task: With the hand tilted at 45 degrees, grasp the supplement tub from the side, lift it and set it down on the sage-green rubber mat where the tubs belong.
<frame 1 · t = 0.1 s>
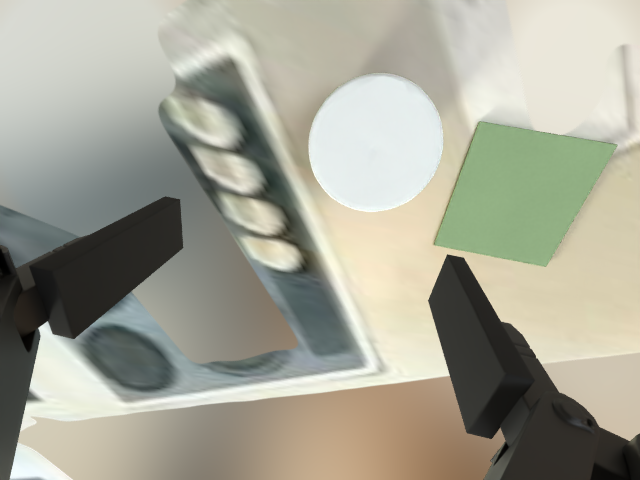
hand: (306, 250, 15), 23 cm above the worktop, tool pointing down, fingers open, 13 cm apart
supplement tub: (371, 128, 34), on the worktop
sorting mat: (514, 199, 35), on the worktop
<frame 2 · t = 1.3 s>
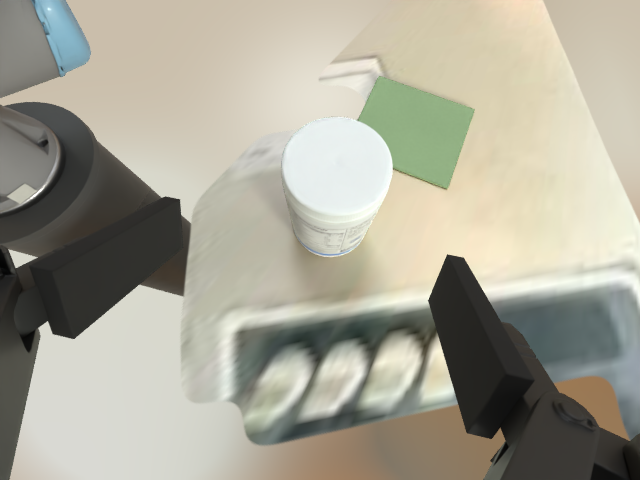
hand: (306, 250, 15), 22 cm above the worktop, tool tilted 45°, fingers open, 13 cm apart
supplement tub: (329, 224, 38), on the worktop
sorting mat: (410, 129, 43), on the worktop
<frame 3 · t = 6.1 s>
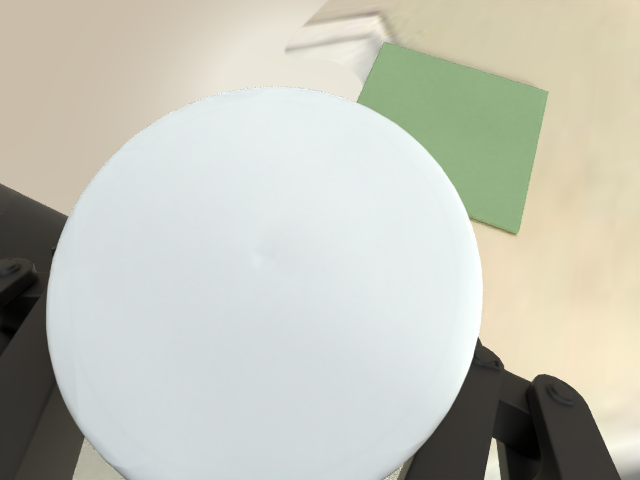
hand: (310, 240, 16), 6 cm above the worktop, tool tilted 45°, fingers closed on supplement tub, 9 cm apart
supplement tub: (302, 309, 20), on the worktop, touching gripper
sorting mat: (441, 129, 25), on the worktop
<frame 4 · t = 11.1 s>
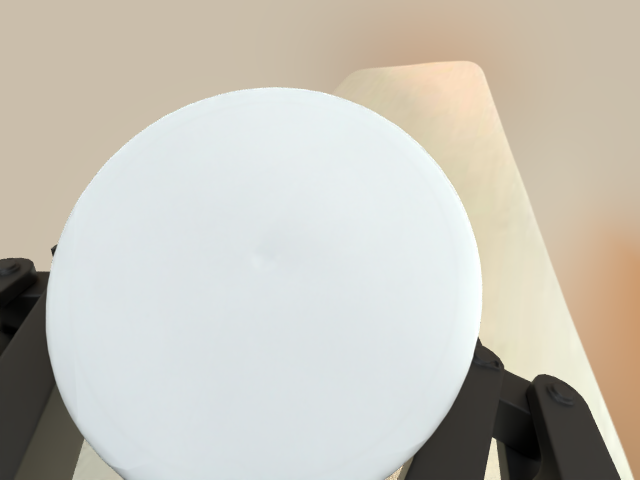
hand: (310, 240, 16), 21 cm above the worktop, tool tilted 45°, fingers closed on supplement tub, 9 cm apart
supplement tub: (302, 309, 20), point 15 cm above the worktop, touching gripper
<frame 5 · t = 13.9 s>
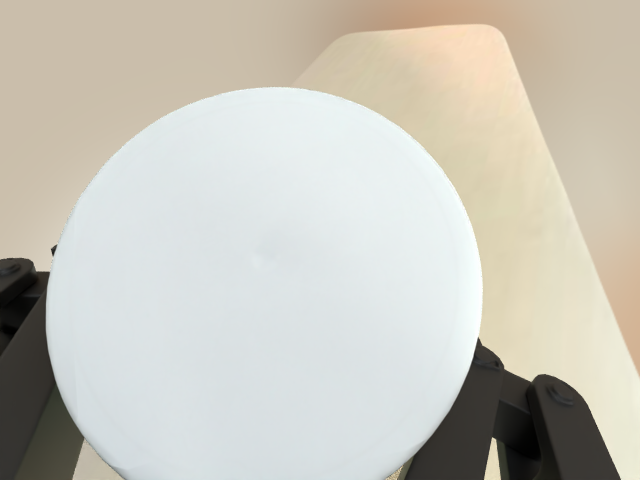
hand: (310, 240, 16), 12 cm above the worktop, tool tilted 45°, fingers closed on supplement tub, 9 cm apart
supplement tub: (302, 309, 20), point 6 cm above the worktop, touching gripper
when the fingers open (6 cm above the worktop, at t = 16.1 s): supplement tub stays where it is, resting on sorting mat.
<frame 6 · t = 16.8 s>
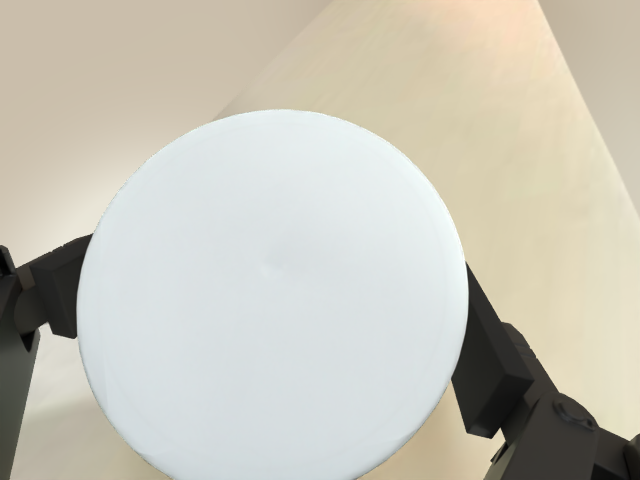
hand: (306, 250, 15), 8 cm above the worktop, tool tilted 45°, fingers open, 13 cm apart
supplement tub: (303, 311, 21), resting on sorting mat
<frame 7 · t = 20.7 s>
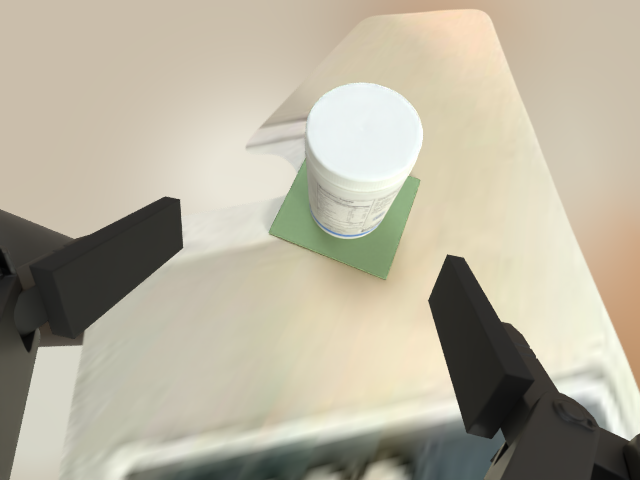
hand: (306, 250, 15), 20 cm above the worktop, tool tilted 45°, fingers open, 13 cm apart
supplement tub: (346, 206, 37), resting on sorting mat
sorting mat: (346, 206, 37), on the worktop
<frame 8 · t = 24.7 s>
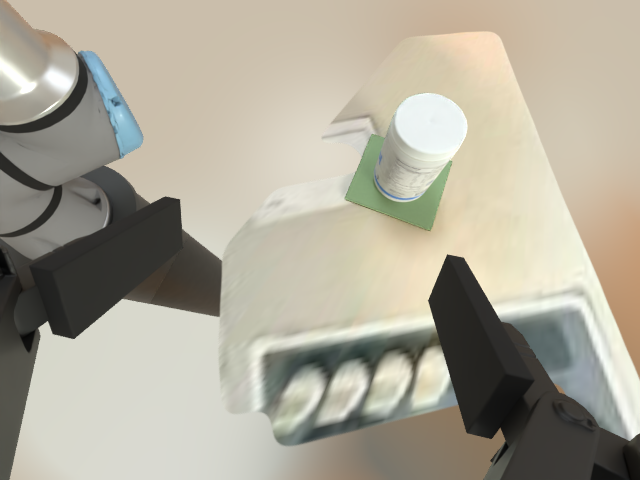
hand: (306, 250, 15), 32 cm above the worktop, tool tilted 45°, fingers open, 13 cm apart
supplement tub: (399, 180, 51), resting on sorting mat
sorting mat: (399, 180, 52), on the worktop
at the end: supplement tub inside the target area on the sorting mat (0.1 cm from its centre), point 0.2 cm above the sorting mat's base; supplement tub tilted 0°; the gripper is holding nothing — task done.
